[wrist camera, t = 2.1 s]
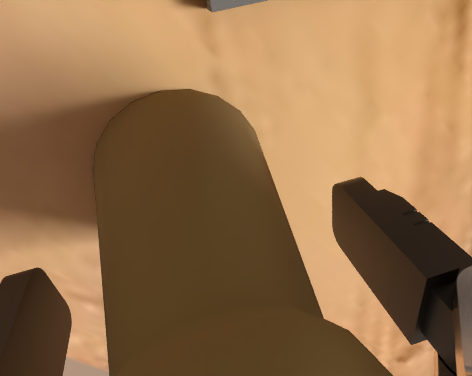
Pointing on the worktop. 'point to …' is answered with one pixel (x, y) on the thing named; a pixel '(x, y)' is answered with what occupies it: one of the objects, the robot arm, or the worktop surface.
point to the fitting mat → (227, 4)
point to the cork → (204, 252)
